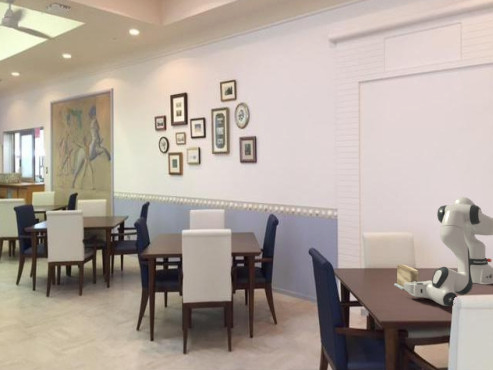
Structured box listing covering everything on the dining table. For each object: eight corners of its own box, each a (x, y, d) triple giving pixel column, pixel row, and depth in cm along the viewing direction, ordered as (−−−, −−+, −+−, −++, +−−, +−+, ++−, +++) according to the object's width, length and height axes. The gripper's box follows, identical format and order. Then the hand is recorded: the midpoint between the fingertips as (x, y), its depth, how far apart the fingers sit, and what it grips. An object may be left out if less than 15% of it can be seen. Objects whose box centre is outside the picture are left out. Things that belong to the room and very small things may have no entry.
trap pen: (421, 292, 228) (421, 290, 228) (427, 295, 222) (427, 293, 222) (408, 292, 227) (408, 291, 227) (414, 296, 221) (414, 294, 221)
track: (406, 284, 243) (406, 282, 243) (415, 288, 234) (415, 287, 234) (394, 285, 242) (394, 283, 242) (402, 289, 233) (402, 287, 233)
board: (404, 284, 242) (404, 264, 242) (417, 292, 229) (418, 270, 228) (397, 285, 242) (397, 265, 241) (410, 292, 228) (410, 270, 227)
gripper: (449, 282, 215) (433, 275, 228) (412, 284, 212) (398, 277, 225) (449, 294, 215) (433, 286, 229) (412, 296, 212) (398, 289, 225)
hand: (415, 282), depth 227 cm, fingers closed
